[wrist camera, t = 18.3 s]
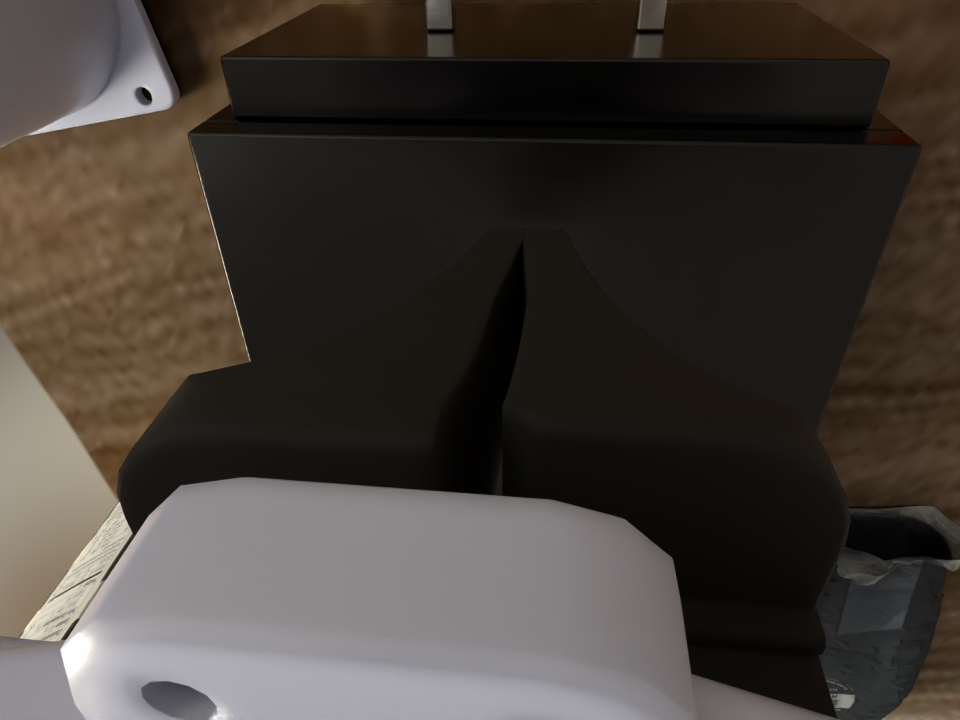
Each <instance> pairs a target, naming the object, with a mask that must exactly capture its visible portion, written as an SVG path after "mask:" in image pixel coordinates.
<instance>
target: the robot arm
mask: <svg viewBox="0 0 960 720" xmlns="http://www.w3.org/2000/svg"><path fill="white" fill-rule="evenodd" d="M142 87H144V88H146V89H147V90H149V92H150V93H151V95H152V101H149V100H148V99H146V98H145V96H144V95H143V93H142ZM179 97H180V93H179V89H178V86H177V84H176V81H175V79H174V77H173V74H172V72H171V70H170V67H169V65H168V63H167V60H166V58H165V56H164V53H163V51H162V49H161V46H160V44H159V42H158V39H157V37H156V35H155V32H154V30H153V28H152V25H151V23H150V21H149V18H148V16H147V14H146V11H145V9H144V7H143V4H142V2H141V0H0V148H2V147H4V146H6V145H8V144H10V143H12V142H14V141H16V140H18V139H20V138H22V137H24V136H29V135H34V134H39V133H44V132H50V131H55V130H60V129H66V128H71V127H76V126H82V125H87V124H92V123H98V122H103V121H108V120H114V119H119V118H124V117H129V116H135V115H140V114H145V113H151V112H156V111H161V110H167V109H169V108H171V107H173V106H174V105H176V104H177V102H178V101H179ZM501 461H502V496H497V495H495V491H496V486H497V480H498V474H499V469H500V465H501ZM117 494H118V498H119V501H120V504H121V507H122V510H123V514H124V517H125V519H126V521H127V523H128V525H129V527H130V529H131V531H132V533H133V535H134V539H133V540H132V542H131V543H130V545H129V546H128V548H127V549H126V551H125V552H124V554H123V555H122V557H121V558H120V560H119V561H118V563H117V564H116V566H115V567H114V569H113V570H112V572H111V573H110V575H109V576H108V578H107V579H106V581H105V582H104V584H103V585H102V587H101V588H100V590H99V591H98V593H97V594H96V596H95V597H94V599H93V600H92V602H91V603H90V605H89V606H88V608H87V609H86V611H85V612H84V614H83V616H82V617H81V619H80V620H79V622H78V623H77V625H76V626H75V628H74V629H73V631H72V632H71V634H70V635H69V637H68V638H67V640H61V641H53V642H51V641H41V640H32V639H22V638H12V637H3V636H0V720H840V719H838V718H837V715H836V712H835V708H834V705H833V702H832V698H831V695H830V692H829V689H828V685H827V682H826V679H825V676H824V672H823V669H822V666H821V662H820V659H819V656H818V655H823V653H824V651H825V649H826V637H825V634H824V631H823V628H822V624H821V621H820V618H819V615H818V612H817V609H816V608H817V605H818V603H819V601H820V599H821V597H822V595H823V592H824V590H825V588H826V586H827V584H828V582H829V580H830V577H831V575H832V573H833V571H834V569H835V567H836V564H837V562H838V560H839V558H840V556H841V554H842V551H843V549H844V547H845V543H846V539H847V535H848V531H849V527H850V523H851V521H850V515H849V510H848V505H847V499H846V495H845V493H844V491H843V488H842V486H841V484H840V481H839V479H838V477H837V474H836V472H835V470H834V467H833V465H832V463H831V461H830V459H829V457H828V456H827V454H826V452H825V450H824V448H823V446H822V444H821V442H820V441H819V439H818V437H817V436H816V434H815V433H814V431H813V429H812V428H811V426H810V425H809V423H808V421H807V419H806V417H805V415H804V414H803V412H802V411H801V410H799V409H797V408H794V407H791V406H789V405H786V404H784V403H781V402H778V401H776V400H773V399H770V398H768V397H765V396H763V395H760V394H757V393H755V392H752V391H750V390H747V389H744V388H742V387H739V386H737V385H735V384H733V383H731V382H729V381H727V380H725V379H723V378H721V377H719V376H717V375H715V374H713V373H711V372H709V371H706V370H704V369H703V368H701V367H699V366H697V365H696V364H694V363H692V362H690V361H688V360H687V359H685V358H683V357H682V356H680V355H679V354H677V353H676V352H674V351H673V350H671V349H669V348H668V347H666V346H665V345H663V344H662V343H660V342H659V341H657V340H656V339H655V338H653V337H652V336H651V335H649V334H648V333H647V332H645V331H644V330H643V329H642V328H641V327H639V326H638V325H637V324H636V323H635V322H634V321H632V320H631V319H630V318H629V317H628V316H627V315H625V314H624V313H623V312H622V311H621V310H620V309H619V308H618V307H617V306H616V304H615V303H614V302H613V301H612V300H611V299H610V298H609V297H608V295H607V294H606V293H605V292H604V291H603V289H602V288H601V287H600V286H599V284H598V283H597V282H596V280H595V279H594V277H593V276H592V275H591V273H590V272H589V271H588V269H587V268H586V266H585V265H584V263H583V262H582V260H581V258H580V257H579V255H578V253H577V252H576V250H575V248H574V246H573V244H572V242H571V240H570V237H569V235H568V234H567V233H566V232H565V231H564V229H542V228H511V227H490V228H489V229H488V230H487V231H485V232H484V233H483V234H482V235H481V236H480V237H479V238H478V239H477V240H476V241H475V242H474V243H473V244H472V245H471V246H469V247H468V248H467V249H466V250H465V251H464V252H463V253H462V254H461V255H460V256H459V257H458V258H457V259H456V260H454V261H453V262H452V263H451V264H450V265H449V266H448V267H446V268H445V269H444V270H443V271H442V272H440V273H439V274H438V275H437V276H435V277H434V278H433V279H431V280H430V281H429V282H427V283H426V284H425V285H423V286H422V287H421V288H419V289H418V290H417V291H416V292H414V293H413V294H411V295H410V296H408V297H407V298H405V299H403V300H402V301H400V302H399V303H397V304H395V305H394V306H392V307H390V308H388V309H387V310H385V311H383V312H381V313H380V314H378V315H376V316H374V317H372V318H370V319H368V320H366V321H364V322H362V323H359V324H357V325H355V326H353V327H350V328H348V329H346V330H344V331H342V332H339V333H337V334H335V335H333V336H330V337H328V338H325V339H323V340H320V341H317V342H315V343H312V344H309V345H306V346H303V347H301V348H298V349H294V350H291V351H288V352H285V353H281V354H278V355H275V356H271V357H268V358H264V359H261V360H257V361H253V362H248V363H244V364H239V365H235V366H230V367H226V368H221V369H217V370H212V371H208V372H203V373H198V374H192V375H189V376H188V377H187V379H186V380H185V381H184V382H183V383H182V384H181V386H180V387H179V388H178V390H177V391H176V392H175V393H174V395H173V396H172V397H171V398H170V400H169V401H168V402H167V404H166V405H165V406H164V408H163V409H162V410H161V411H160V413H159V414H158V415H157V417H156V418H155V419H154V421H153V422H152V423H151V424H150V426H149V427H148V428H147V430H146V431H145V432H144V434H143V435H142V436H141V437H140V439H139V440H138V441H137V443H136V444H135V445H134V447H133V448H132V449H131V450H130V452H129V454H128V456H127V457H126V459H125V461H124V462H123V464H122V466H121V468H120V469H119V474H118V487H117Z"/></svg>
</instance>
